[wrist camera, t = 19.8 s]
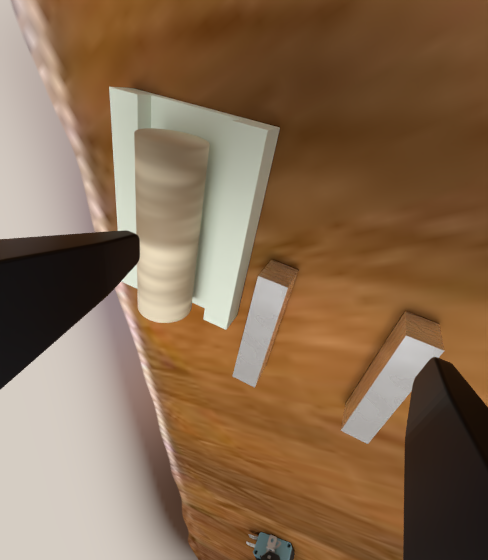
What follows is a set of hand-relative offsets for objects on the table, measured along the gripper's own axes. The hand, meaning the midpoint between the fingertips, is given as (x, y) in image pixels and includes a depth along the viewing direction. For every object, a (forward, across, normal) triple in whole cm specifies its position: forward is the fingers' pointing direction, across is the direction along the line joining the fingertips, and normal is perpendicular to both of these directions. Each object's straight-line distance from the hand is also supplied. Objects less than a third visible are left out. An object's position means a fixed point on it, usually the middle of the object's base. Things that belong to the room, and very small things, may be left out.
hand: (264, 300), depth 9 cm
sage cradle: (+11, +9, +4) cm, 15 cm away
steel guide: (+11, -3, +10) cm, 15 cm away
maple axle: (+10, +9, +4) cm, 14 cm away
